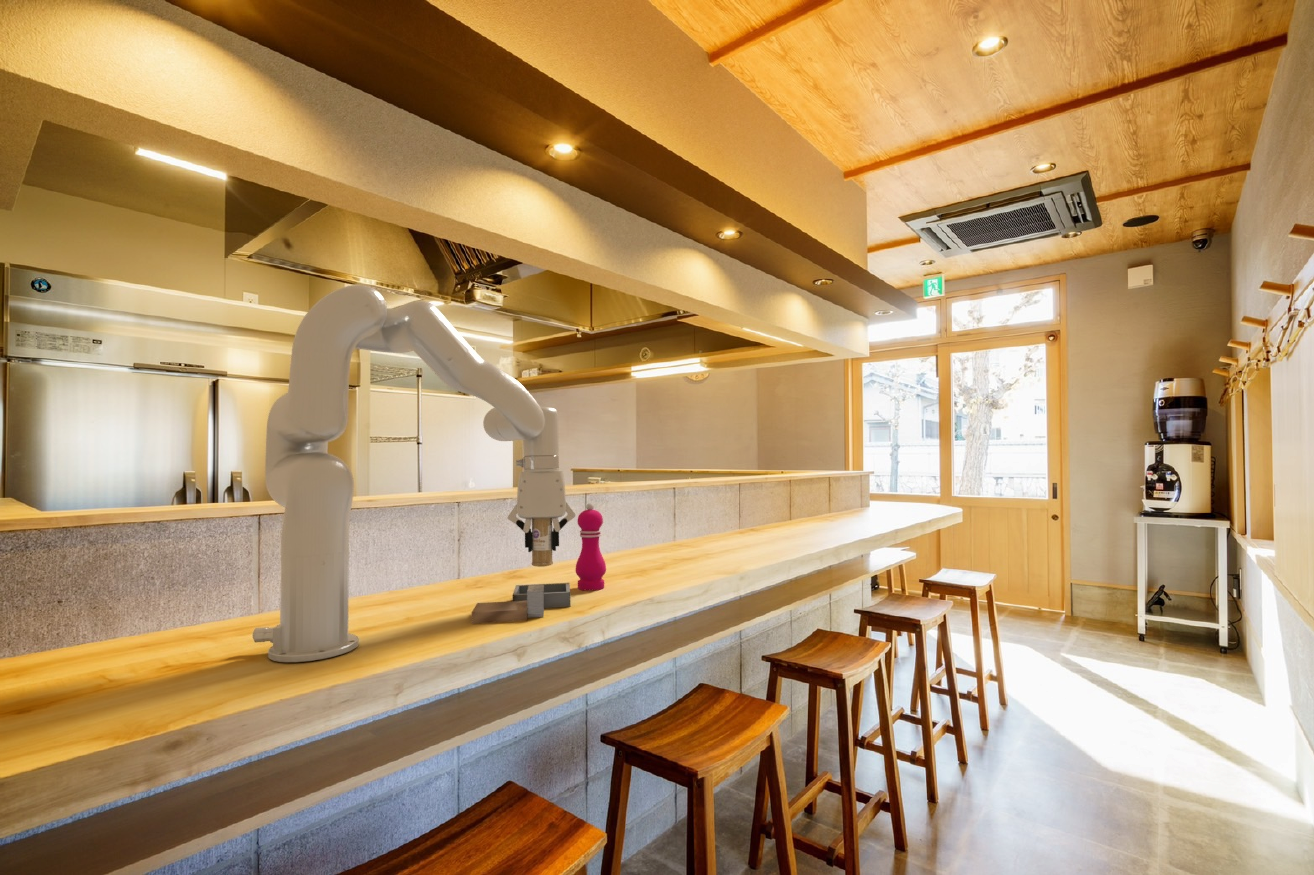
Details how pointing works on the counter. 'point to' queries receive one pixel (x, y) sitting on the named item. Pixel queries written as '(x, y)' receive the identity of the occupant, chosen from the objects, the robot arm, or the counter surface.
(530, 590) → the block
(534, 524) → the sprinkles bottle
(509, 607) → the board
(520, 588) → the tray
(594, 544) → the pepper mill
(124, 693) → the counter surface
